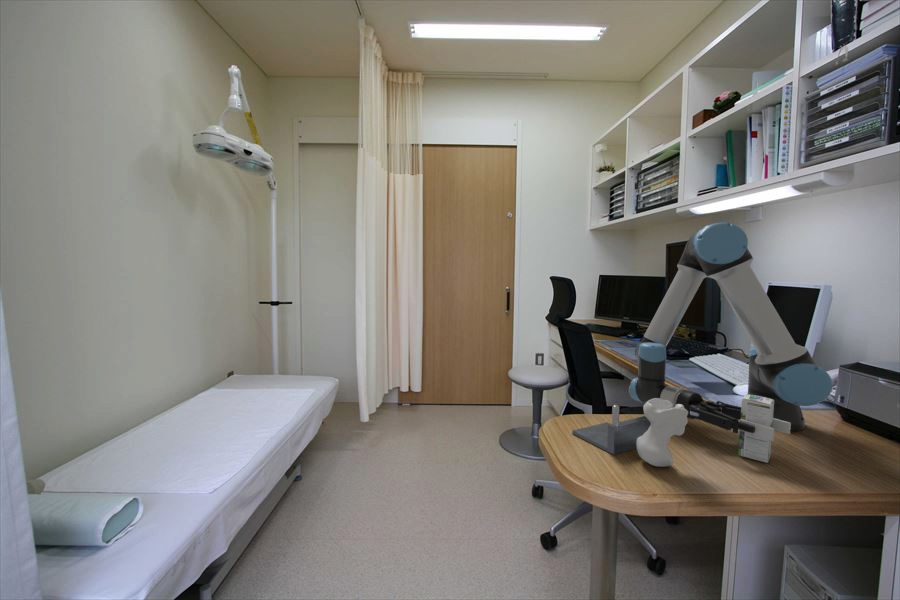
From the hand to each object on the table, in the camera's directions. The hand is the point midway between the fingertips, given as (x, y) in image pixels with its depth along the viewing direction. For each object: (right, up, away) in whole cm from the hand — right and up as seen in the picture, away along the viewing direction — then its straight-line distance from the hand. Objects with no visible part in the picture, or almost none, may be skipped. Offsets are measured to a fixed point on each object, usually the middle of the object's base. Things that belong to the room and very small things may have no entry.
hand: (781, 431), depth 85 cm
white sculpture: (-27, -8, +1) cm, 29 cm away
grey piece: (-34, -8, +15) cm, 37 cm away
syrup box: (-2, -8, +5) cm, 10 cm away
